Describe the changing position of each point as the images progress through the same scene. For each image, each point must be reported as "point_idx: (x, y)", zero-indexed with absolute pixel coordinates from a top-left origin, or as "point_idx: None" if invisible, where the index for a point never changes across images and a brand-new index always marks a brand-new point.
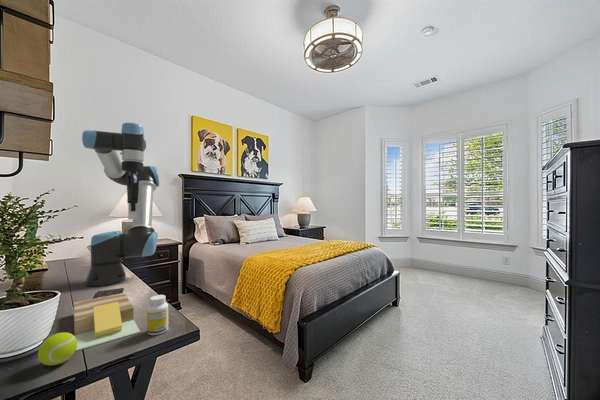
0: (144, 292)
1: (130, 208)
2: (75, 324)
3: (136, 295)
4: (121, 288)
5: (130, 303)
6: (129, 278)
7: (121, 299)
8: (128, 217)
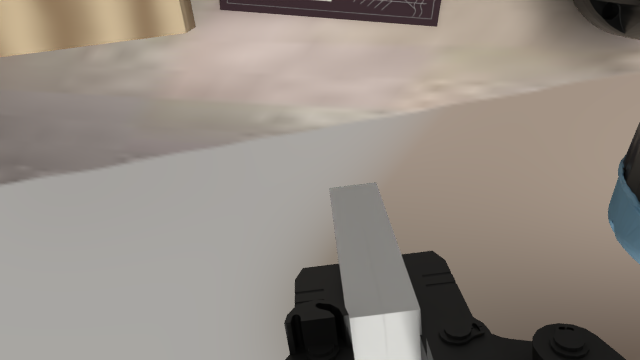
0: (313, 107)
1: (341, 283)
2: None
3: (287, 75)
4: (430, 16)
5: (11, 54)
6: (627, 54)
7: (84, 20)
8: (365, 195)
